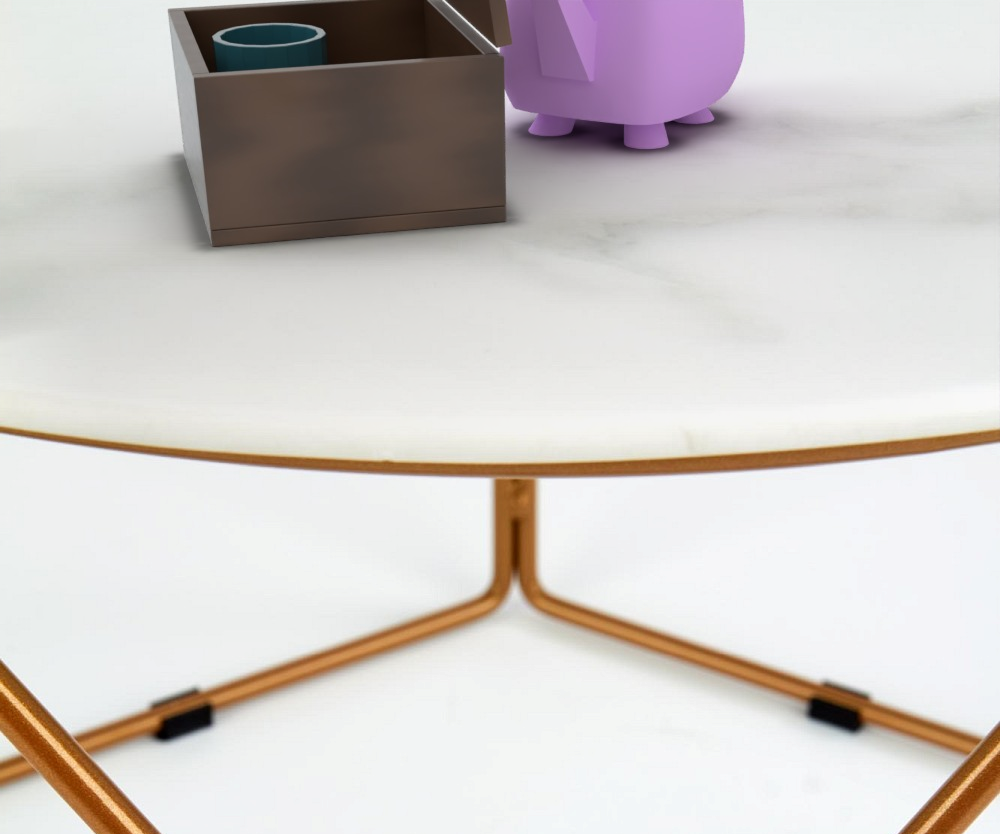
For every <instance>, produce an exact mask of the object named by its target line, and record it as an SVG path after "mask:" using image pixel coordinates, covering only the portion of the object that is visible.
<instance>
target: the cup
mask: <svg viewBox="0 0 1000 834" xmlns="http://www.w3.org/2000/svg"><path fill="white" fill-rule="evenodd" d="M212 42H213V51H214V61H215V71H216V73H217V72H232V71H247V70H262V69H277V68H291V67H306V66H321V65H328V55H327V40H326V33H325V32H324V30H323V29H321V28H318V27H314V26H311V25H303V24H295V23H294V24H293V23H266V24H252V25H244V26H238V27H232V28H229V29H225V30H222V31H219V32H217V33H216V34H215V35H213V36H212Z"/></svg>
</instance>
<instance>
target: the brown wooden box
mask: <svg viewBox="0 0 1000 834" xmlns="http://www.w3.org/2000/svg"><path fill="white" fill-rule="evenodd" d="M167 17H168V18H167V19H168V25H169V34H170V35H169V36H170V43H171V51H172V60H173V61H172V62H173V69H174V78H175V86H176V95H177V103H178V104H177V105H178V113H179V121H180V131H181V139H182V147H183V157H184V160H185V163H186V166H187V169H188V172H189V176H190V179H191V182H192V185H193V189H194V192H195V195H196V199H197V202H198V205H199V209H200V211H201V215H202V218H203V221H204V225H205V228H206V231H207V234H208V238H209V241H210V244H211V246H212V248H214V247H226V246H239V245H250V244H261V243H273V242H274V243H275V242H284V241H285V242H286V241H297V240H307V239H319V238H320V239H321V238H330V237H331V238H332V237H342V236H343V237H345V236H355V235H367V234H377V233H389V232H391V233H392V232H402V231H413V230H424V229H425V230H427V229H435V228H447V227H448V228H449V227H459V226H461V227H462V226H470V225H481V224H482V225H483V224H494V223H505V222H506V221H507V206H506V205H507V169H506V168H507V163H506V162H507V161H506V156H507V155H506V91H505V71H504V56H503V55H501V54H500V53H499V52H500V51H498V50H497V48H496V47H495V46H494V45H492V44H491V43H490V42H489V41H488V40H487V39H486V38H485V37H484V36H483V35H482V34H481V33H479V32H478V31H477V30H476V29H475V28H474V27H473V26H472V25H471V24H470V23H469V22H468V21H466V20H465V19H464V18H463V17H462V16H461V15H460V14H459V13H458V12H457V11H456V10H455V9H452V7H451V6H450V5H449V4H448V3H447V2H446V1H445V0H290V1H273V2H257V3H255V2H254V3H239V4H224V5H223V4H222V5H207V6H190V7H174V8H173V7H172V8H167ZM266 23H293V24H294V23H295V24H303V25H311V26H314V27H318V28H321V29H323V30H324V32H325V33H326V40H327V55H328V65H321V66H306V67H291V68H277V69H262V70H247V71H232V72H217V73H216V71H215V61H214V51H213V42H212V36H213V35H215V34H216V33H217V32H219V31H222V30H225V29H229V28H232V27H238V26H244V25H252V24H266Z"/></svg>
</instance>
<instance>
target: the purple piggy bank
mask: <svg viewBox="0 0 1000 834" xmlns="http://www.w3.org/2000/svg"><path fill="white" fill-rule="evenodd" d="M506 5H507V12H508V18H509V25H510V32H511V38H512V44H511V45H507V46H503V47H499V51H498V52H499V53H500V54H501V55H503V56H504V71H505V95H506V96H507V99H508V100H509V102H510V103H511V107H512V108H513V109H515V110H518V111H522V112H527V113H533V114H537V115H536V117H535V119H534V120H533V121H532V124H531V125H530V127H529V128H528V130H527V131H528V133H530V134H531V135H535V136H541V137H559V136H565V135H568V134H570V133H572V132H573V129H574V126H575V123H576V121H577V120H580V121H590V122H599V123H600V122H601V123H609V124H615V125H616V124H617V125H623V144H624V146H626V147H628V148H632V149H639V150H656V149H662V148H666V147H667V146H668V145H670V142H669V138H668V134H667V130H666V126H665V123H668V122H671V121H673V122H676V123H679V124H688V125H699V124H707V123H711V122H713V121H715V116H714V115H713V113H712V112H711V110H710V108H709V107H711V106H712V105H714V104H716V103H717V102H718V101H719V100H721V99H722V98H723V97H725V96H726V94H728V92H729V91H730V89H731V88H732V86H733V84H734V83H735V80H736V78H737V77H738V74H739V72H740V69H741V66H742V64H743V61H744V55H745V45H746V43H745V42H746V27H745V26H746V25H745V24H746V23H745V22H746V21H745V9H744V0H506Z"/></svg>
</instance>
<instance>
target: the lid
mask: <svg viewBox="0 0 1000 834" xmlns="http://www.w3.org/2000/svg"><path fill="white" fill-rule="evenodd" d="M444 2H445V3H446V4H447V5H448V6H449V7H451V8H453V10H454V11H455V12H456V13H457V14H458V15H459V16H460V17H461V18H463V19H464V20H465V21H466V22H467V23H468V24H469V25H470V26H471V27H472V28H473V29H474V30H476V31H477V32H478V33H479V34H480V35H481V36H482V37H483V38H484V39H485V40H486V41H488V42H489V43H490V44H491V45H492V46H493V47H494V48H495V49H500V47H503V46H507V45H511V44H512V38H511V32H510V25H509V18H508V12H507V5H506V0H444Z"/></svg>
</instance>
